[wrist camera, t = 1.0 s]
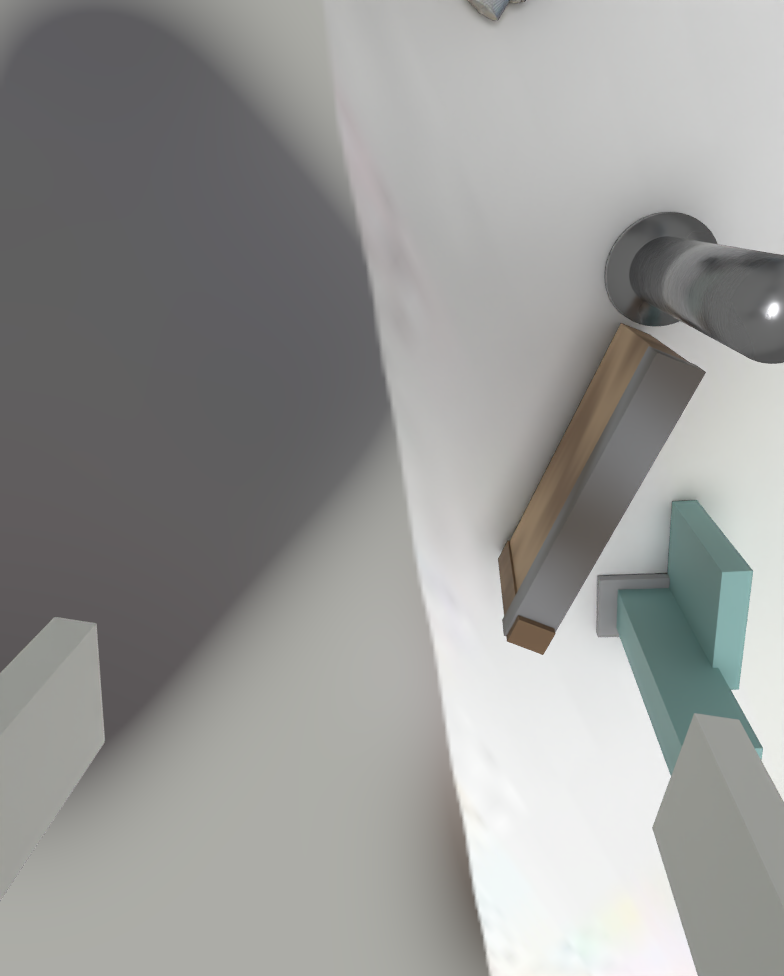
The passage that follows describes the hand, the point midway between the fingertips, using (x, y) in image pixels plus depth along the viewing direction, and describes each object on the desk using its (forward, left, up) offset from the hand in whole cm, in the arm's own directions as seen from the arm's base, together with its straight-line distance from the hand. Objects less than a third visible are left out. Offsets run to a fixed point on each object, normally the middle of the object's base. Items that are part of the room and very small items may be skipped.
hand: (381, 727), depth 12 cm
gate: (+1, +6, -17) cm, 18 cm away
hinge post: (-6, +9, -18) cm, 21 cm away
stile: (+7, +9, -18) cm, 21 cm away
